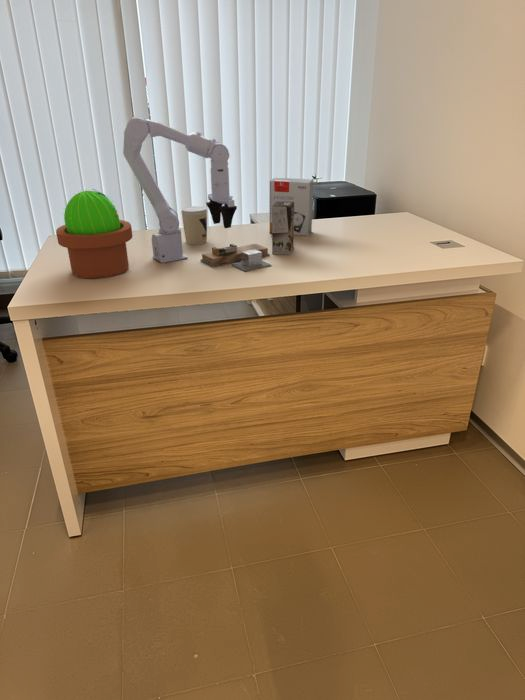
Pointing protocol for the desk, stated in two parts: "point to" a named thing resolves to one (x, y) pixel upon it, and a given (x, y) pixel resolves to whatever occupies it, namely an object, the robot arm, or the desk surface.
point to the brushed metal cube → (252, 258)
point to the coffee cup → (195, 224)
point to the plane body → (230, 255)
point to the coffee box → (282, 227)
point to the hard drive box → (300, 195)
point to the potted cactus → (94, 236)
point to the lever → (227, 249)
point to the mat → (245, 268)
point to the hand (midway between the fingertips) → (222, 225)
